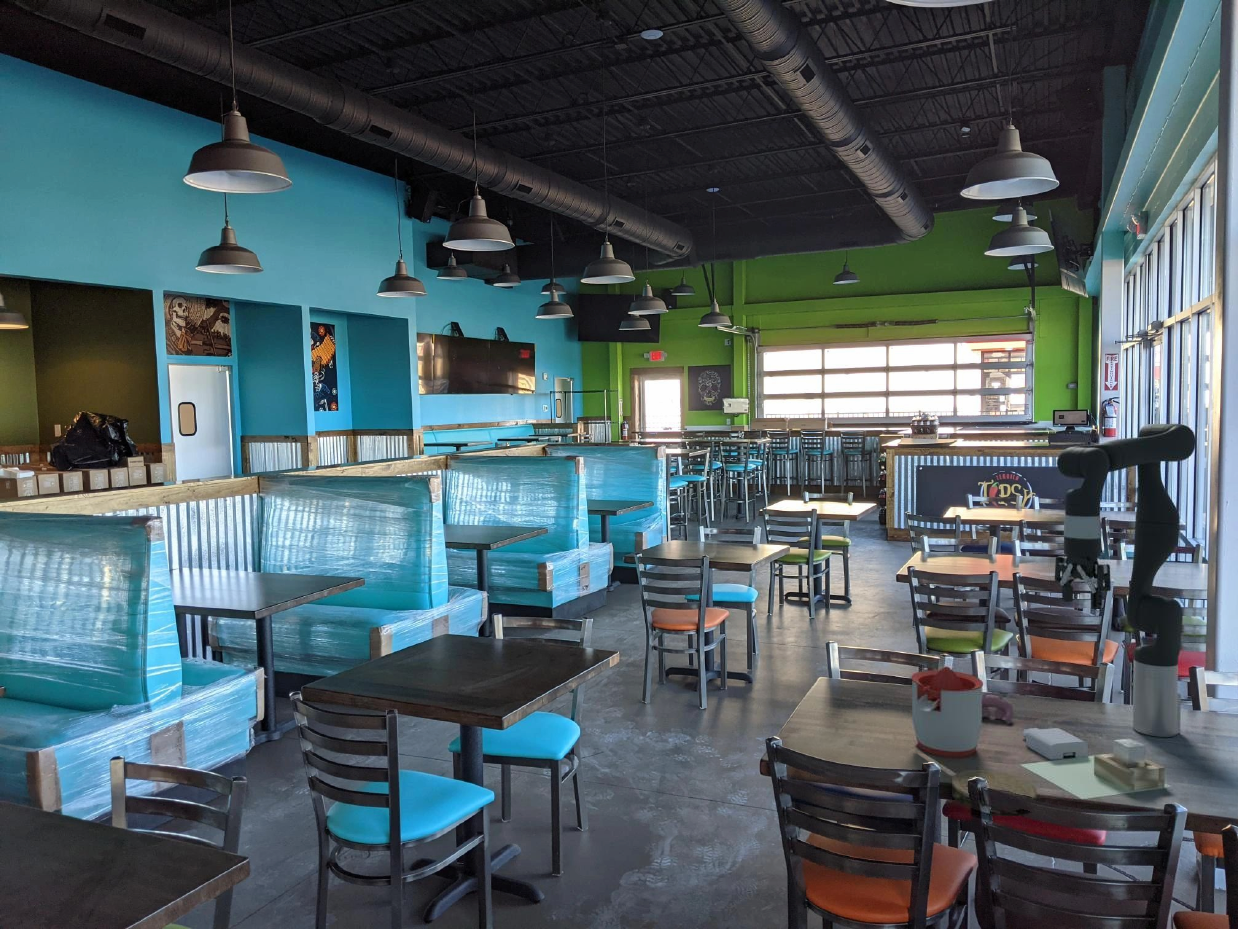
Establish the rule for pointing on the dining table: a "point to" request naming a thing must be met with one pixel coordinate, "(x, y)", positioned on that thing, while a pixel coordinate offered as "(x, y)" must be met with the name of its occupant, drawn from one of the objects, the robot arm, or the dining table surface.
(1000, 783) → the olive brown round disc
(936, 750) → the citrus juicer
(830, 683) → the dining table surface
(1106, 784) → the board
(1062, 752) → the charger
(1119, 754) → the peg
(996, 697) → the video game controller
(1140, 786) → the shallow wooden crate
